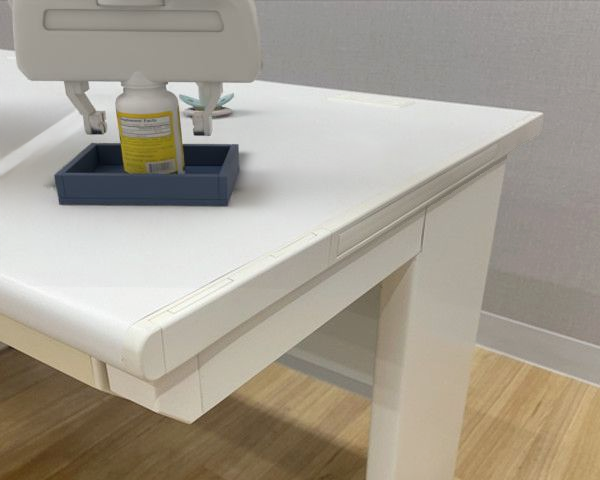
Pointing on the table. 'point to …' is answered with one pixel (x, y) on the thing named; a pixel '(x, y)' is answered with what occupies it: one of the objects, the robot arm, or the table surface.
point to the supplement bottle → (149, 127)
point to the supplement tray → (149, 178)
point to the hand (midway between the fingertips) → (150, 133)
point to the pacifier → (205, 103)
